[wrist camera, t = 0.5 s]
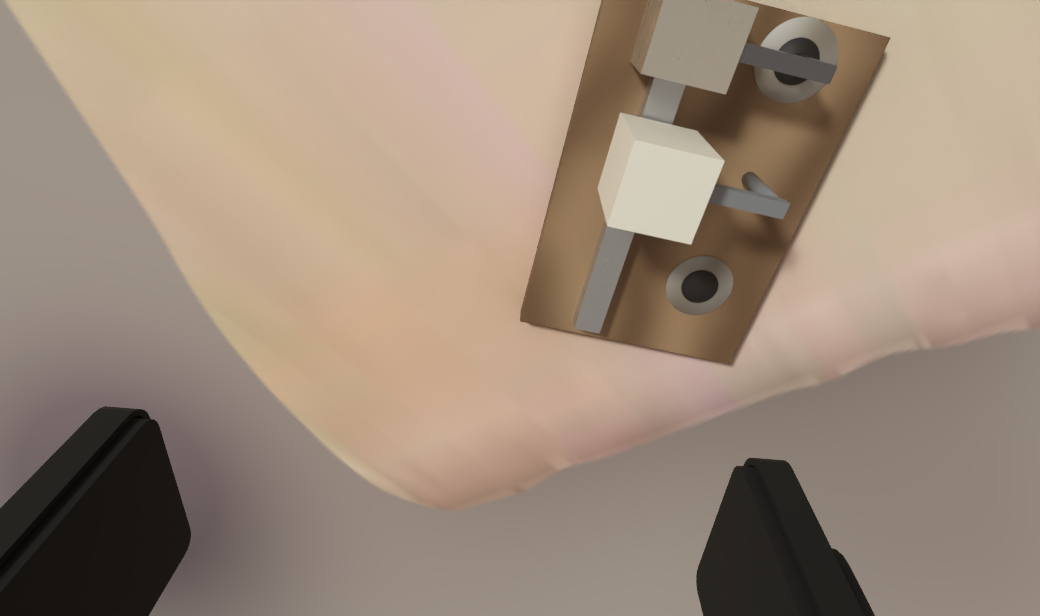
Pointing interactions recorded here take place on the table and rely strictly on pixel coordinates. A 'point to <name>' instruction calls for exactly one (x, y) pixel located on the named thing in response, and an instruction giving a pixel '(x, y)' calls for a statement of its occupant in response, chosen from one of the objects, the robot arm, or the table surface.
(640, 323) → the hole board
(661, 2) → the beam
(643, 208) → the sliding leg
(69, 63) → the table surface
